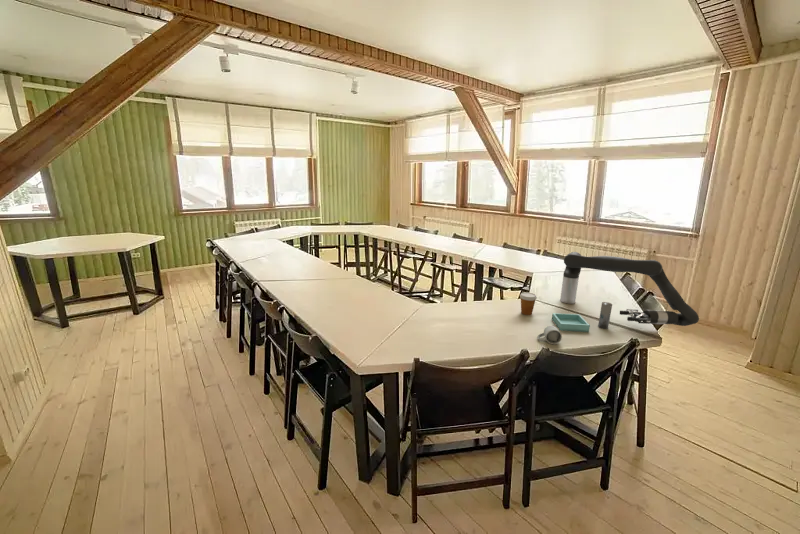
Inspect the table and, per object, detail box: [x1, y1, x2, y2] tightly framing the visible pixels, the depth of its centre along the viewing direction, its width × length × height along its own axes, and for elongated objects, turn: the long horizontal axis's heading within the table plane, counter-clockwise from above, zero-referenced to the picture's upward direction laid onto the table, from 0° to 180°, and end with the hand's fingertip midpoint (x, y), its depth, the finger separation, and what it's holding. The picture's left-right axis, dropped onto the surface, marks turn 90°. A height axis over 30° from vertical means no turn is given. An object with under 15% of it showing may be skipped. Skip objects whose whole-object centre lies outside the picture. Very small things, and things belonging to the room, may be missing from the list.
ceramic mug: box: [536, 325, 563, 345], centre depth 182 cm, size 11×8×8 cm
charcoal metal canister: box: [597, 301, 613, 330], centre depth 197 cm, size 5×5×14 cm
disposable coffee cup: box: [519, 291, 537, 316], centre depth 216 cm, size 10×10×12 cm
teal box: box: [551, 312, 591, 333], centre depth 200 cm, size 15×15×4 cm
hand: (623, 315), depth 196 cm, fingers open, 8 cm apart
